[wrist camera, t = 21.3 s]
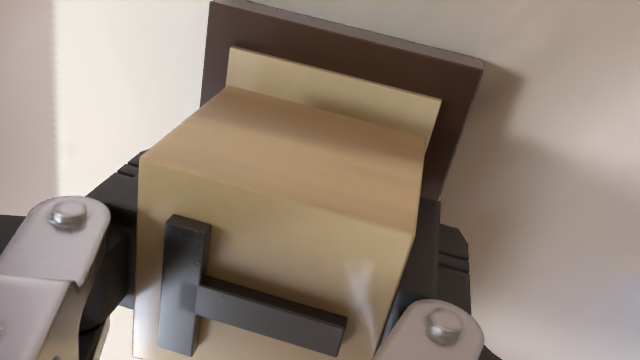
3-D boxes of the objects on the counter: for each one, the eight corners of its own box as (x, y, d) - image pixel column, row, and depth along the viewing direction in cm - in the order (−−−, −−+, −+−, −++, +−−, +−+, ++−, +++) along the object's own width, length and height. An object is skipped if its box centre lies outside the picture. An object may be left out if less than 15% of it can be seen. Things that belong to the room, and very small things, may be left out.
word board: (224, -6, 14) (206, 2, 13) (481, 59, 13) (484, 72, 12) (173, 472, 24) (160, 499, 22) (322, 522, 23) (315, 552, 22)
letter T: (228, 84, 12) (127, 164, 8) (427, 136, 12) (415, 245, 8) (209, 246, 14) (122, 369, 11) (377, 296, 14) (348, 442, 10)
